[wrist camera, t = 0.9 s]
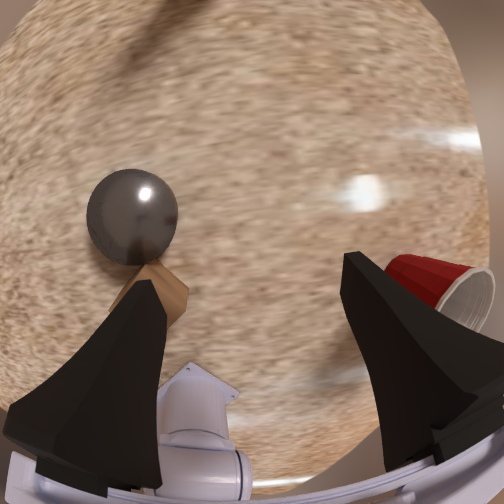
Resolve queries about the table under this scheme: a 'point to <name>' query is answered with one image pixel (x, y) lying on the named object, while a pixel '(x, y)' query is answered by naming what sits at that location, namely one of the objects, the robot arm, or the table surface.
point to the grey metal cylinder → (132, 216)
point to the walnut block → (161, 289)
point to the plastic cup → (447, 287)
